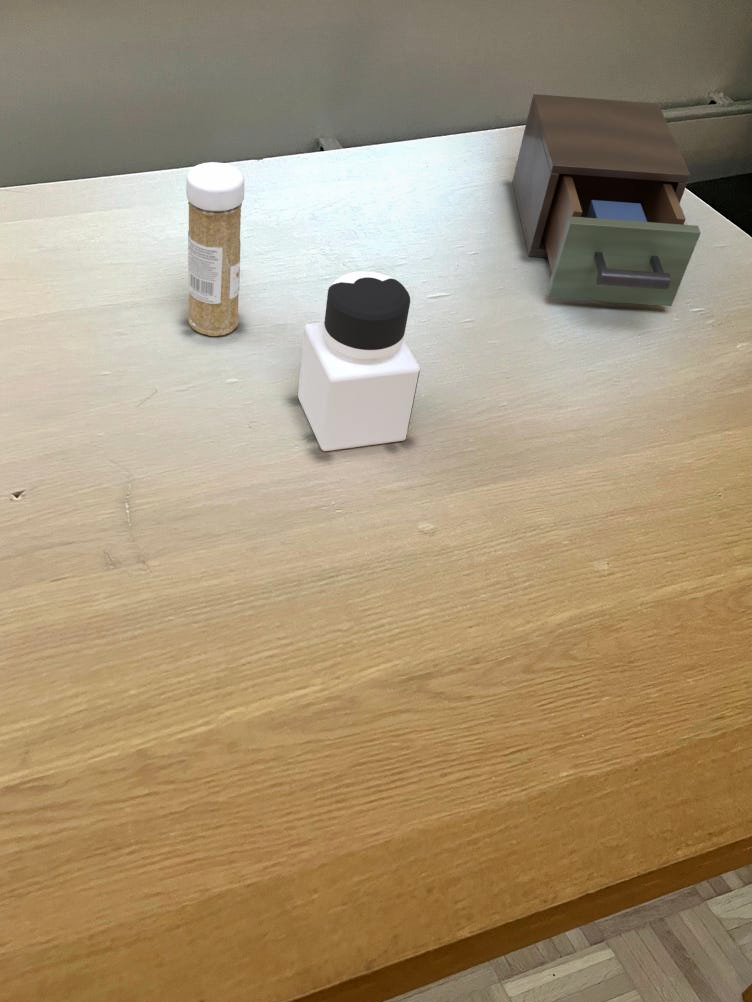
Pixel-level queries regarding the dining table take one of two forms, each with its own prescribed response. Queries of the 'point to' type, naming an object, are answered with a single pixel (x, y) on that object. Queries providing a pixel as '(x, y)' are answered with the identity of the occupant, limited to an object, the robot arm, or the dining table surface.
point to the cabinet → (589, 152)
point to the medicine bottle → (359, 364)
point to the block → (616, 211)
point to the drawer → (617, 242)
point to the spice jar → (214, 246)
